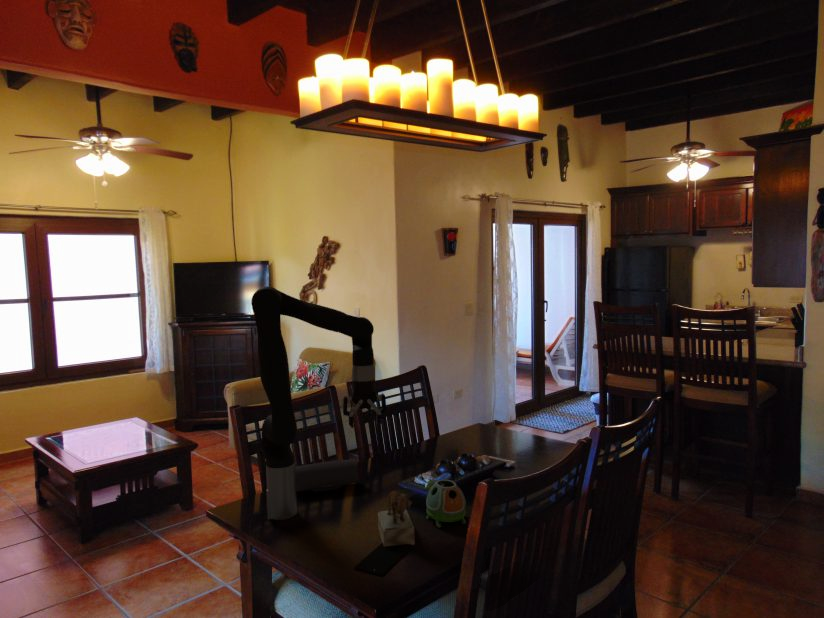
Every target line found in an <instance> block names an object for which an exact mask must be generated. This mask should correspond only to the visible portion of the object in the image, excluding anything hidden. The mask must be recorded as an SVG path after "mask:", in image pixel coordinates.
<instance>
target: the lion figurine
mask: <svg viewBox="0 0 824 618" xmlns="http://www.w3.org/2000/svg"><path fill="white" fill-rule="evenodd" d="M412 503H413V501H412V500H410V499H409V498H408V497H407V494H405V493H400V494H399V493H398V492H397V491H395V490H393V491H391V492H389V495H388V505H387V507H388V510H387V511H388V513H387V514H388V515H391V510H392V514H393V523H397V519H396V513H397V514H400V520H401V521H404V520H405V519H404V518H403V513H404V511H405V510H407V508H410V507H411V505H412Z"/></svg>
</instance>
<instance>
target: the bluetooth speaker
mask: <svg viewBox="0 0 824 618" xmlns="http://www.w3.org/2000/svg"><path fill="white" fill-rule="evenodd" d="M295 482H296V492H300V491H302V492H304V491H313V493H319V492H318V491H320V492H325V491H326V492H327V491H333V490H338V489H341V487H343V486H347V485H352V484H355V483H358V482H359V470H358V462H357V460H356V459H343V460H342V459H341V460H333V461H332V460H330V461H322V462H315V463H310V464H304V465H303V464H302V465H297V466H295Z"/></svg>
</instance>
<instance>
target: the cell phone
mask: <svg viewBox="0 0 824 618" xmlns="http://www.w3.org/2000/svg"><path fill="white" fill-rule="evenodd" d="M412 548H413V545H411V544H403V545H394V546H385V547H384V545H383V542H382V541H381V543H380V544H379V545H378V546H376V548H374V549H373V550H372V551H371V552H369V554H367V556H365V557H364V558H363V559H362V560H360V562H359V563H357V564H356V565H355V566H354V570H355V571H357V570H359V571H358V572H361V571H362V573H365V572H366V573H365V574H370V575H373V576H377V577H384V576H385V575H386V574H387V573H388V572H389V571H390V570H391V569H392V568H393V567H394V566H395V565H396V564H397V563H398V562H399V561H400V560H401V559H402V558H403V557H404V556H405V555H406V554H407V553H408V552H409V551H410V550H412ZM405 553H406V554H405ZM404 554H405V555H404ZM403 555H404V556H403ZM402 556H403V557H402ZM401 557H402V558H401ZM400 558H401V559H400ZM399 559H400V560H399ZM398 560H399V561H398ZM397 561H398V562H397ZM396 562H397V563H396ZM395 563H396V564H395ZM394 564H395V565H394ZM393 565H394V566H393ZM392 566H393V567H392ZM391 567H392V568H391ZM390 568H391V569H390ZM389 569H390V570H389ZM388 570H389V571H388ZM387 571H388V572H387ZM386 572H387V573H386ZM385 573H386V574H385ZM384 574H385V575H384ZM383 575H384V576H383Z"/></svg>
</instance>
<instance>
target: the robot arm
mask: <svg viewBox="0 0 824 618" xmlns="http://www.w3.org/2000/svg"><path fill="white" fill-rule="evenodd" d="M250 304H251V309H252V313H253V316H254V322H255V326H256V331H257V357H258V359H257V361H258V369H259V378H260V382H261V383H262V384H261V385H262V387H263V390H264V392H265V394H266V397H267V399H268V402H269V406H270V411H271V412H270V415H268V416H267V417H265V419H264V420H263V422H262V425H261V442H262V444H261V445H262V454H263V457H264V459H265V470H266V472H265V473H266V475H265V476H266V510H267V511H266V512H267V520H273V519H274V520H273V521H283V520H284V521H285V520H289V519H291V518H293V517H295V516H297V513H298V509H297V506H298V505H297V491H296V482H295V467H296V464H295V463H296V462H295V461H296V460H295V454H294V452H293V450H292V448H291V446H290V445H292V444H293V443H294V441H295V439H296V437H297V434H298V425H297V420H296V415H295V411H294V406H293V400H292V389H291V380H290V378H291V377H290V367H289V365H290V364H289V358H288V353H287V347H286V344H285V341H284V337H283V333H282V325H281V320H282V319H281V316H285V317H286V316H287V317H290V318H294V319H297V320H299V321H302V322H305V323H307V324H309V325H311V326H315V327H317V328H319V329H324V330H327V331H331V332H333V333H334V332H335V333H339V334H342V335H345V336H347V337H349V338H351V343H352V345H351V346H352V355H351V356H352V359H351V360H352V369H351V379H352V381H351V382H352V394H351V396H347V395H344V396H343V398H342V414H343V415H344V416H347V417H348V425H349V426H350V428H351V429H353V428H354V414H355V413H356V412H357V411H358V410H364V409H368V410H369V409H371V408H372V409H373V411H375V412H376V413H375V419H376V420H375V421H376V422H375V423H376V426H377V427H379V426H380V425H381V424H382V414H386V413H387V400H386V395H385V394H384V393H380V394H377V392H376V369H375V364H374V363H375V360H374V357H375V354H374V349H373V334H374V332H375V331H374V325H373V323H372V322H371V320H370V319H368V318H366V317H363V316H360V317H358V316H355V315H352V314H347V313H346V312H343V311H341V310H338V309H334V308H331V307H328V306H325V305H324V306H323V305H321V304H316V303H312V302H309V301H305V300H303V299H298V298H296V297H294V296H291V295H288V294H286V292H285V293H284V292H282V291H281V290H278V289H276V288H275V287H273V286H263V287H261V288H259V289H257V290H256V291H255V292H254V293H253V295H252V296H251V303H250ZM377 400H378V401H380V402H381V408H379V407H378V406H377V405H376V404H375V402H376V401H377ZM351 401H352V402H353V405H352V407H351V409H350V410H348V404H350V402H351Z"/></svg>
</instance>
